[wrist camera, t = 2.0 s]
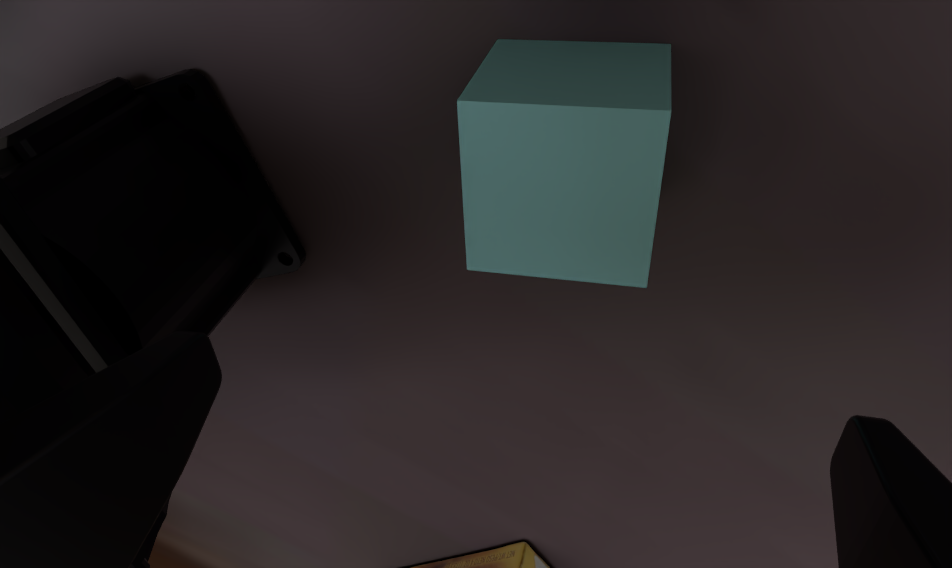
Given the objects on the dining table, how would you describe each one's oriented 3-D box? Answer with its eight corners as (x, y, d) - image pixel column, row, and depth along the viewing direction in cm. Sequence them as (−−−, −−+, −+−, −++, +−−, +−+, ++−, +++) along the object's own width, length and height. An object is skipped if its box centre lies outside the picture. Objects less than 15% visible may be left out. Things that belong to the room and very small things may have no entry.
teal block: (650, 197, 18) (646, 287, 14) (501, 186, 18) (466, 269, 15) (670, 42, 15) (671, 111, 12) (498, 38, 16) (456, 100, 13)
